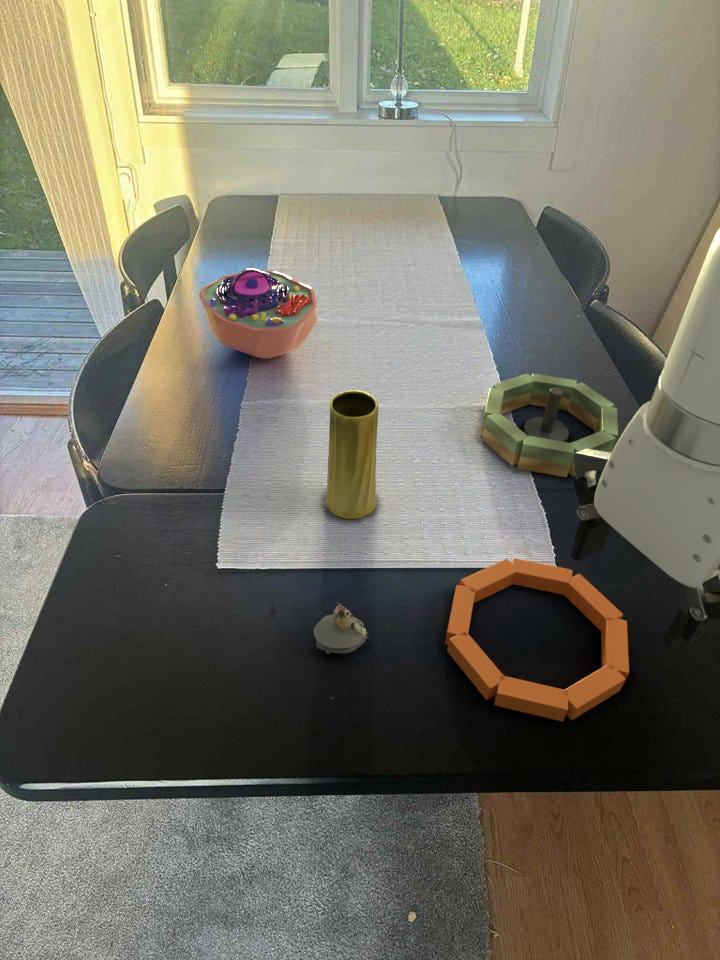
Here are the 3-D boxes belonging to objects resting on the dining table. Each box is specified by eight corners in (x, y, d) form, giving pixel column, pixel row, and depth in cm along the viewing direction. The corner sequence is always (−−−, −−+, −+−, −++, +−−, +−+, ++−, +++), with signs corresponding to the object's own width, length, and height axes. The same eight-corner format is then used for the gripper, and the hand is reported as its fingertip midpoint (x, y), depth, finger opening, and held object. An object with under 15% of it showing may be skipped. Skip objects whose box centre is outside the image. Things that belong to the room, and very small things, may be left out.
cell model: (228, 389, 101) (220, 318, 93) (194, 326, 114) (185, 259, 107) (337, 366, 106) (337, 298, 99) (292, 308, 120) (289, 244, 112)
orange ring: (660, 666, 67) (666, 654, 66) (525, 749, 61) (529, 737, 59) (541, 553, 78) (544, 540, 77) (415, 612, 72) (417, 599, 70)
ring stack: (636, 449, 93) (652, 406, 88) (540, 491, 86) (552, 446, 82) (549, 387, 104) (559, 345, 99) (457, 419, 97) (464, 376, 92)
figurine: (311, 660, 67) (310, 621, 63) (316, 622, 70) (315, 583, 66) (366, 663, 67) (369, 625, 63) (368, 626, 70) (371, 587, 66)
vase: (315, 505, 83) (313, 406, 74) (345, 478, 87) (347, 381, 77) (357, 527, 80) (361, 428, 71) (386, 498, 84) (393, 400, 75)
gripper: (879, 480, 40) (754, 655, 51) (647, 341, 51) (586, 510, 62) (800, 523, 37) (686, 700, 48) (571, 365, 48) (522, 539, 59)
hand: (630, 593), depth 55 cm, fingers open, 9 cm apart
